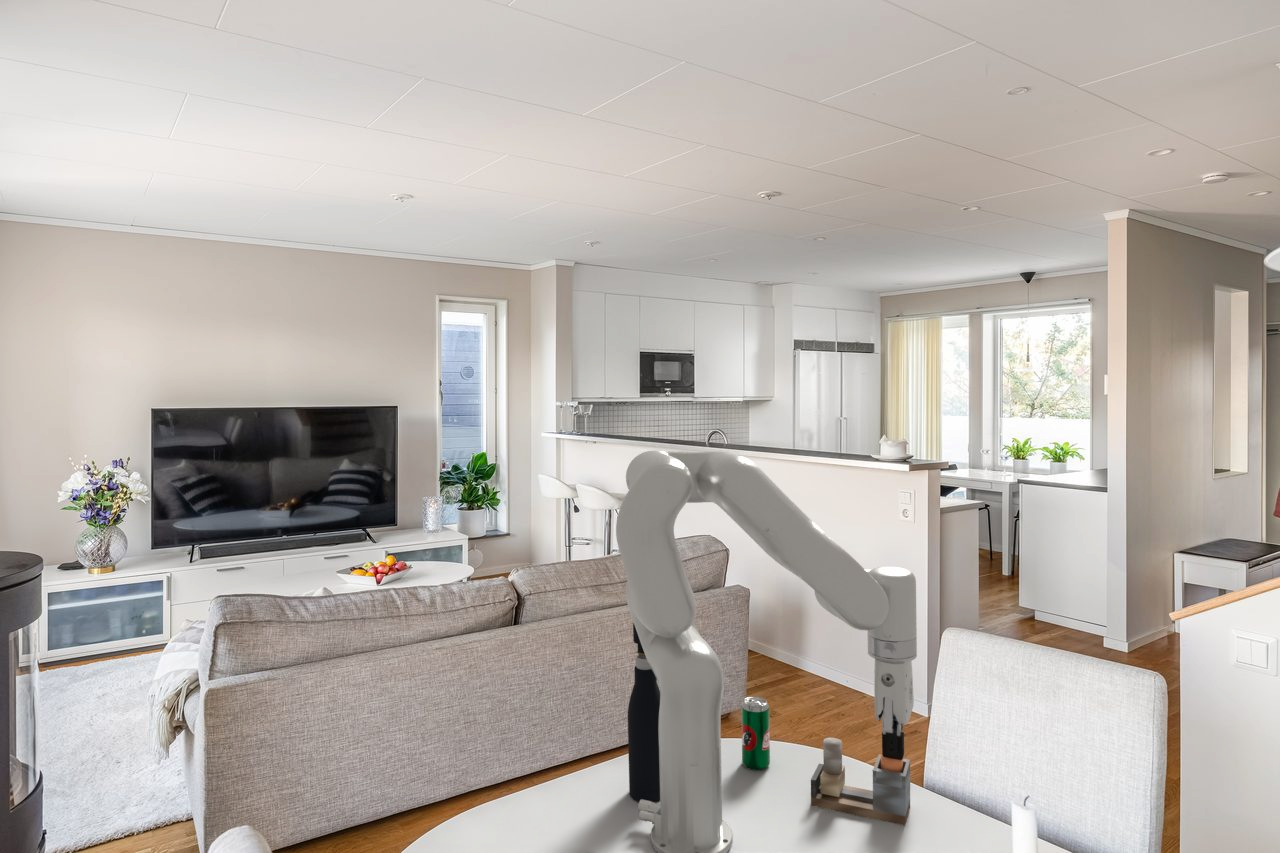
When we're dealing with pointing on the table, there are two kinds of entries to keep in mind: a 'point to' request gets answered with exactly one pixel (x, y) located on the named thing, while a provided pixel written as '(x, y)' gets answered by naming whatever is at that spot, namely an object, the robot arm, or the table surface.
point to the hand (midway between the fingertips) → (893, 756)
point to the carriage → (832, 768)
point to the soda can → (755, 733)
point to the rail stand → (870, 795)
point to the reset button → (891, 764)
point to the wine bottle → (643, 731)
